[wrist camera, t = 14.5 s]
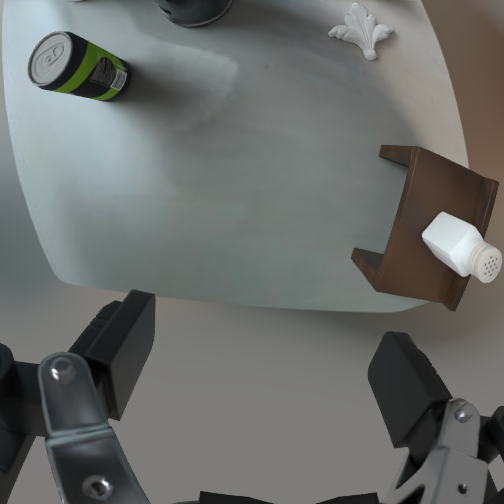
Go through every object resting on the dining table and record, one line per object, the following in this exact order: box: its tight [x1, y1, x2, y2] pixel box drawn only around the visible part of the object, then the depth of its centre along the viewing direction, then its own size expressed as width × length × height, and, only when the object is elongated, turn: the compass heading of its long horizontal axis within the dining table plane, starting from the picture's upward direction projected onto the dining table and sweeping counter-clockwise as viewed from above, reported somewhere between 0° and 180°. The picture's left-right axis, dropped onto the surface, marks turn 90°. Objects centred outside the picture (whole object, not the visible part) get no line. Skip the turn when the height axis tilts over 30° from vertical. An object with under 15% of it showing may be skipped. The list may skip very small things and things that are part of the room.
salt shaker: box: [422, 212, 502, 283], centre depth 24 cm, size 4×4×10 cm
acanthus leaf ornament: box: [328, 3, 394, 60], centre depth 29 cm, size 8×7×2 cm
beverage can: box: [28, 31, 131, 102], centre depth 25 cm, size 6×6×15 cm
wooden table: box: [351, 145, 499, 311], centre depth 32 cm, size 16×11×12 cm
